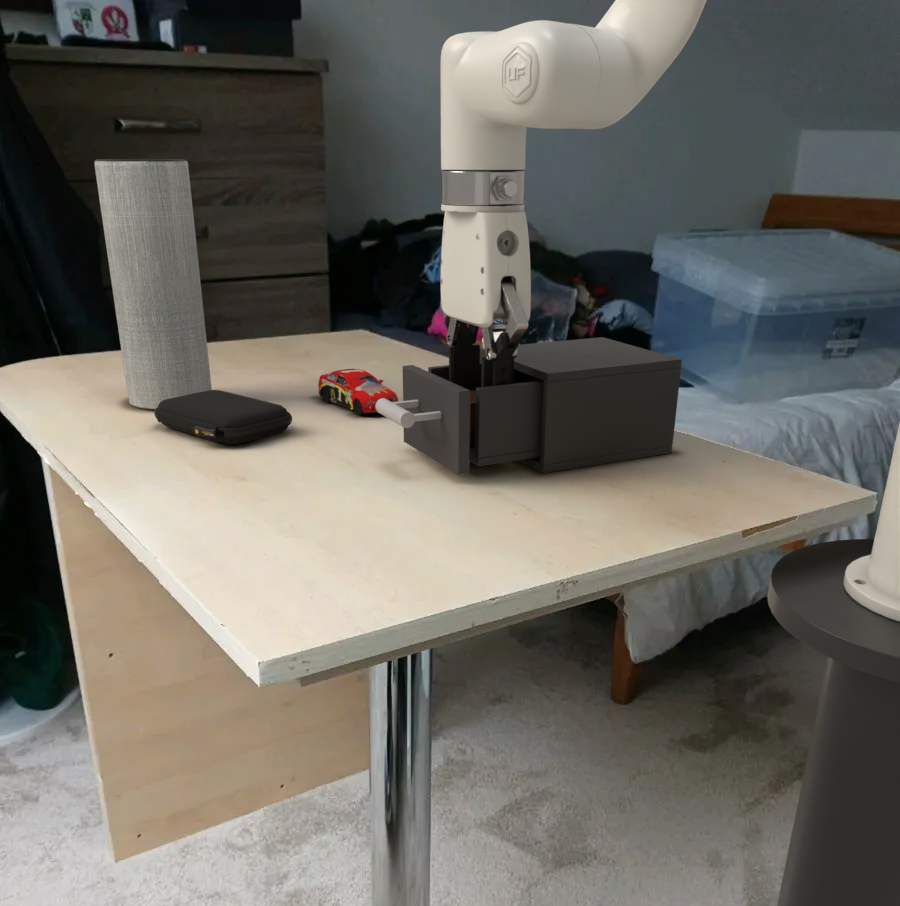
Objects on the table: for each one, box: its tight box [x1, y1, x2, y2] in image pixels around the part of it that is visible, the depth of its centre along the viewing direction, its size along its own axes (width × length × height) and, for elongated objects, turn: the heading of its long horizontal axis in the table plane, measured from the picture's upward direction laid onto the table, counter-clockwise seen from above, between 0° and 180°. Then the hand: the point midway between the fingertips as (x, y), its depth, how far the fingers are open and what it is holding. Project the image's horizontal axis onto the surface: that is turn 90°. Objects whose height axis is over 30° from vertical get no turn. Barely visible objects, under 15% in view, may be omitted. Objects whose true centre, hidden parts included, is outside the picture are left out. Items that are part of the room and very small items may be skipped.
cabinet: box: [480, 336, 683, 474], centre depth 98 cm, size 16×14×10 cm
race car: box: [317, 368, 399, 416], centre depth 114 cm, size 13×5×4 cm, turn 34°
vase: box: [94, 158, 213, 411], centre depth 111 cm, size 10×10×27 cm
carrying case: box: [153, 389, 293, 445], centre depth 104 cm, size 11×3×15 cm
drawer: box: [375, 362, 544, 476], centre depth 93 cm, size 19×12×8 cm, turn 117°
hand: (480, 391), depth 92 cm, fingers open, 6 cm apart
